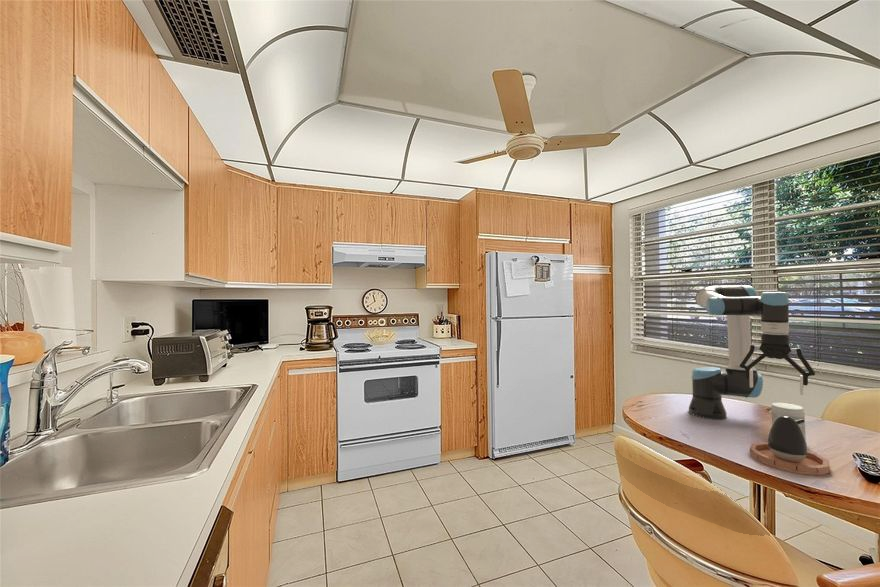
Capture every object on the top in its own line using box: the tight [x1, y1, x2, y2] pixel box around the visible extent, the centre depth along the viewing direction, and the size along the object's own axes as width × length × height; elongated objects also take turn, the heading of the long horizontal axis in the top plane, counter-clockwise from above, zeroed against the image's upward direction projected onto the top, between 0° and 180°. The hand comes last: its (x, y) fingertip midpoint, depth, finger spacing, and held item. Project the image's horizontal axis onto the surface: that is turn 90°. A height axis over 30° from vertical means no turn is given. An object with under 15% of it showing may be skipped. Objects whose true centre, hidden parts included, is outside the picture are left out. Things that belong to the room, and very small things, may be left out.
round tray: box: [749, 442, 831, 476], centre depth 126 cm, size 20×20×2 cm
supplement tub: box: [770, 402, 807, 441], centre depth 142 cm, size 10×10×15 cm
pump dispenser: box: [767, 416, 809, 462], centre depth 126 cm, size 10×10×15 cm
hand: (775, 390), depth 131 cm, fingers open, 13 cm apart
